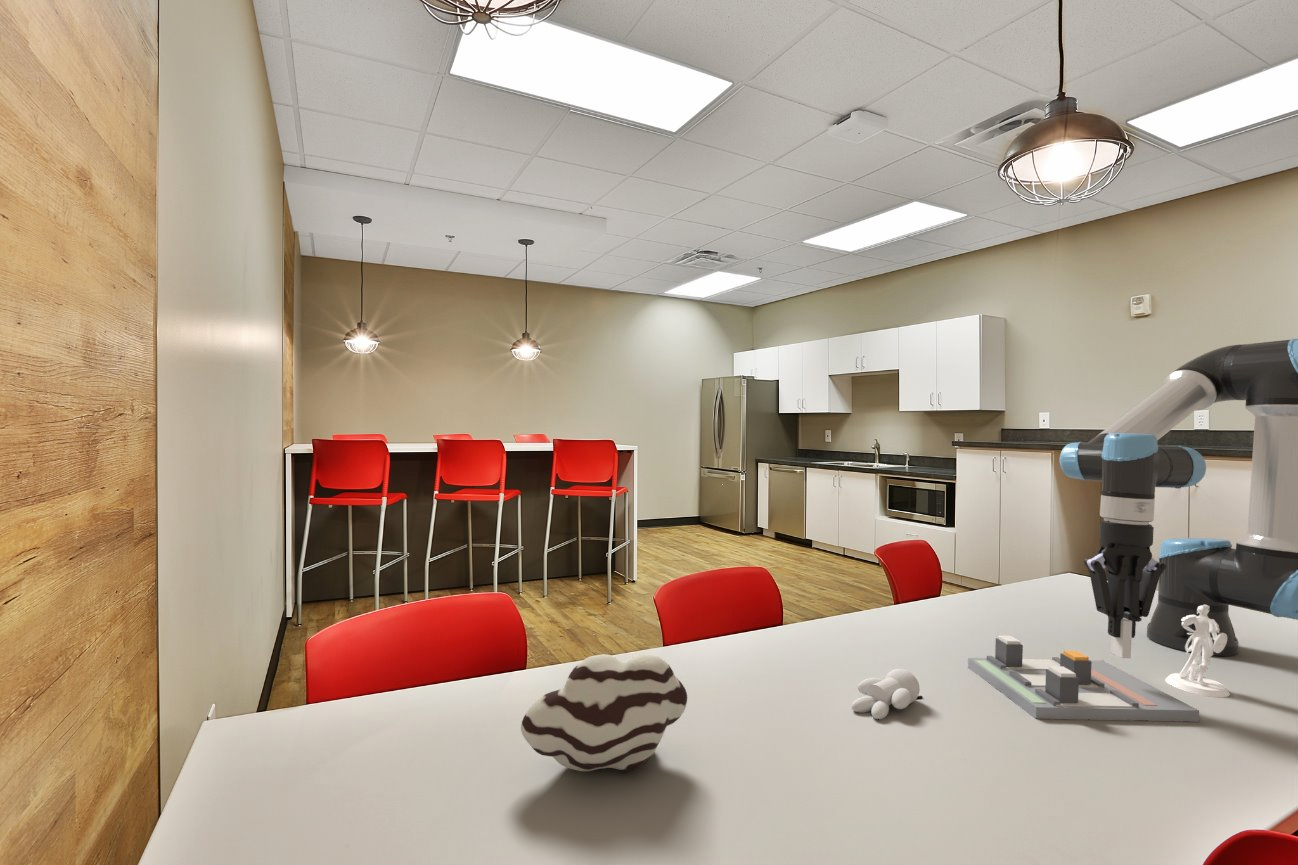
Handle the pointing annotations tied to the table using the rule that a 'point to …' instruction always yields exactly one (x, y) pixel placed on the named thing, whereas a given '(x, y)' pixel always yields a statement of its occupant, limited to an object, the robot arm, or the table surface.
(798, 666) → the table surface
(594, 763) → the sculpture
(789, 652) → the table surface
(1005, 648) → the breaker left
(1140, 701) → the panel
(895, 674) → the toy
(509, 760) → the table surface
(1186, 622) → the figurine
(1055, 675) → the block
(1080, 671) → the breaker mid
